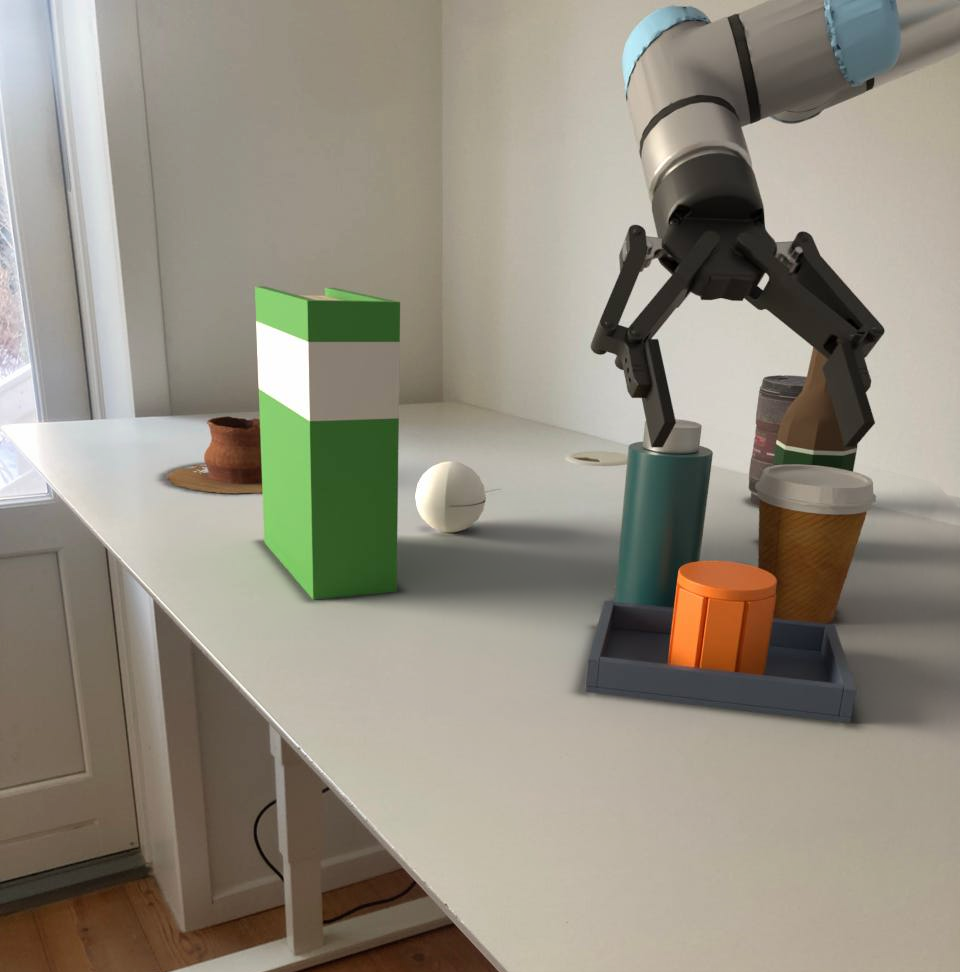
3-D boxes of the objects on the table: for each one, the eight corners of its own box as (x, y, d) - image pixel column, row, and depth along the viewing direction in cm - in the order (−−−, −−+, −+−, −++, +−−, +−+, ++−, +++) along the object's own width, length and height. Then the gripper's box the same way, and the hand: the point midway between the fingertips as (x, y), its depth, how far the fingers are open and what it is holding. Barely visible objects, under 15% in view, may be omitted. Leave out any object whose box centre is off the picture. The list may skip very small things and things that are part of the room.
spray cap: (760, 654, 77) (774, 565, 75) (765, 690, 71) (780, 594, 68) (669, 644, 78) (679, 556, 76) (666, 678, 72) (677, 584, 70)
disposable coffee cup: (819, 594, 93) (842, 463, 89) (874, 632, 84) (902, 489, 80) (720, 596, 91) (738, 462, 87) (766, 635, 83) (789, 489, 78)
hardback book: (264, 543, 101) (254, 286, 92) (337, 538, 104) (334, 287, 95) (313, 601, 86) (307, 300, 77) (396, 592, 89) (400, 302, 80)
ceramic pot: (281, 458, 138) (279, 405, 135) (339, 486, 124) (338, 428, 122) (146, 469, 129) (142, 413, 126) (193, 501, 115) (189, 438, 112)
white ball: (430, 543, 103) (432, 471, 100) (404, 525, 109) (405, 456, 107) (519, 536, 107) (523, 466, 104) (489, 518, 113) (492, 452, 111)
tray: (829, 655, 79) (834, 624, 78) (850, 725, 68) (856, 690, 67) (601, 630, 82) (604, 600, 81) (584, 693, 71) (587, 659, 70)
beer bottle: (794, 563, 102) (835, 310, 93) (745, 542, 108) (779, 304, 100) (854, 556, 105) (899, 311, 96) (803, 536, 112) (841, 305, 103)
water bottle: (692, 605, 89) (715, 419, 83) (691, 632, 83) (716, 433, 77) (616, 597, 90) (633, 413, 84) (610, 623, 84) (628, 427, 78)
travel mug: (730, 503, 124) (747, 377, 119) (767, 494, 130) (785, 373, 124) (789, 517, 119) (809, 386, 113) (825, 508, 124) (846, 381, 119)
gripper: (835, 235, 80) (907, 466, 72) (524, 223, 76) (563, 468, 67) (884, 155, 73) (970, 400, 65) (545, 138, 69) (592, 398, 61)
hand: (763, 435), depth 66 cm, fingers open, 13 cm apart
